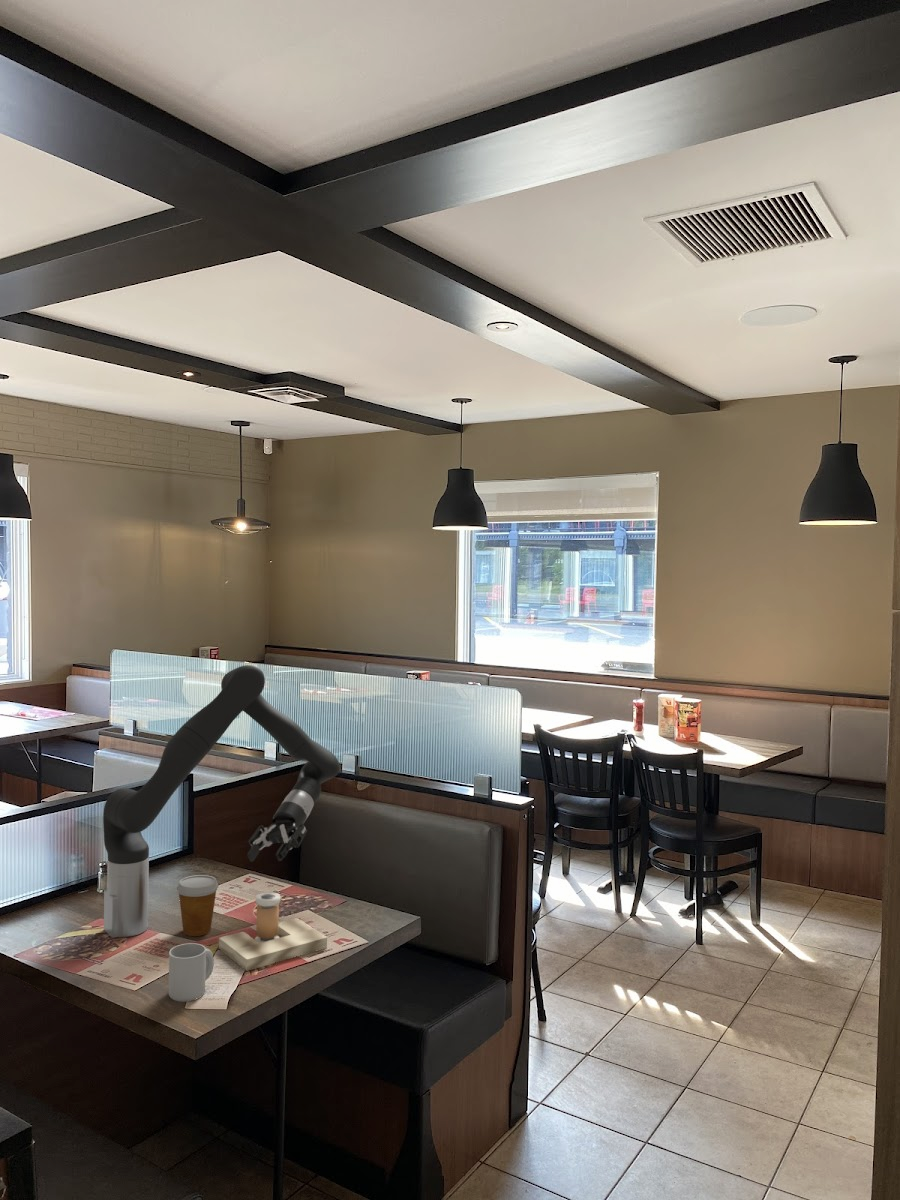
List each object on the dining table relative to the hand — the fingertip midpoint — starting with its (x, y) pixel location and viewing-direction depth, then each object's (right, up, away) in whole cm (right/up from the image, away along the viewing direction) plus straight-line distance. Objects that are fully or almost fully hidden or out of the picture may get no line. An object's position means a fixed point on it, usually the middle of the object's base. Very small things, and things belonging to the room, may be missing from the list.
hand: (264, 858), depth 218 cm
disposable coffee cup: (-15, -16, -3) cm, 23 cm away
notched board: (+4, -17, -12) cm, 21 cm away
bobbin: (+3, -17, -9) cm, 20 cm away
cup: (-8, -18, -33) cm, 39 cm away
